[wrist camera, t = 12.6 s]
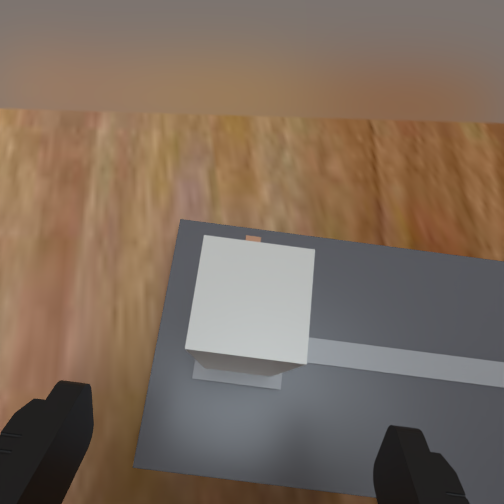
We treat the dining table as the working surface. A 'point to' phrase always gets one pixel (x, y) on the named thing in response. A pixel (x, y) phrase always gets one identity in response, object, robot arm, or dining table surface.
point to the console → (341, 373)
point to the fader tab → (250, 311)
